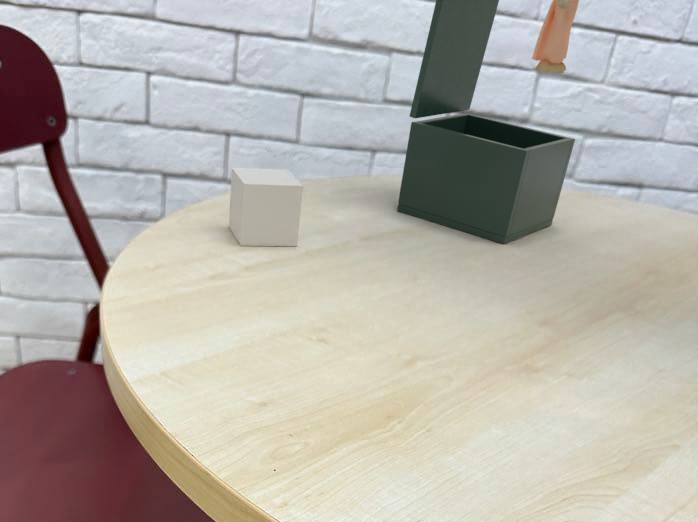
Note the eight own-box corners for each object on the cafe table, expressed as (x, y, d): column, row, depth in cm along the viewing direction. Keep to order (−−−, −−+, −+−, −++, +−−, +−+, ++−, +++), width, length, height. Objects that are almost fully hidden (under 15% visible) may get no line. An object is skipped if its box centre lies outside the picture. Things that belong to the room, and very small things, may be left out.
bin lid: (510, -41, 94) (471, -51, 96) (453, -45, 86) (412, -56, 88) (469, 109, 104) (435, 97, 106) (414, 118, 96) (378, 105, 98)
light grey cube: (297, 246, 88) (303, 185, 84) (240, 246, 86) (244, 184, 82) (282, 227, 92) (287, 169, 88) (228, 226, 90) (231, 167, 87)
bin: (551, 225, 104) (575, 138, 98) (503, 244, 95) (526, 151, 90) (449, 195, 110) (466, 112, 105) (396, 210, 102) (411, 121, 96)
